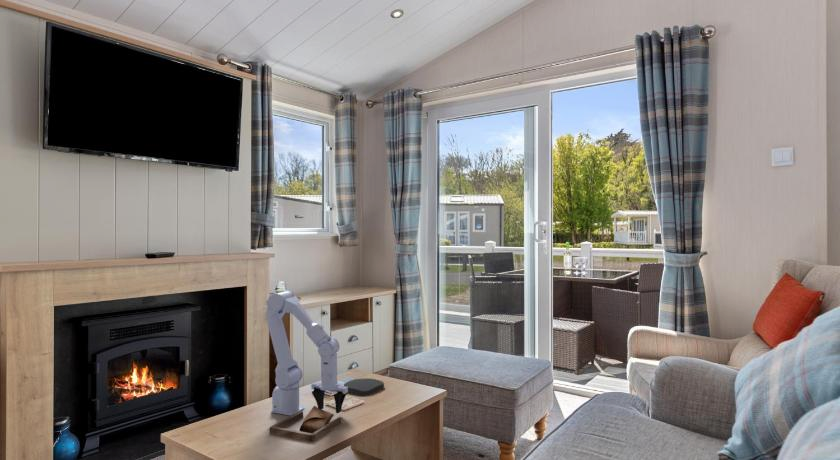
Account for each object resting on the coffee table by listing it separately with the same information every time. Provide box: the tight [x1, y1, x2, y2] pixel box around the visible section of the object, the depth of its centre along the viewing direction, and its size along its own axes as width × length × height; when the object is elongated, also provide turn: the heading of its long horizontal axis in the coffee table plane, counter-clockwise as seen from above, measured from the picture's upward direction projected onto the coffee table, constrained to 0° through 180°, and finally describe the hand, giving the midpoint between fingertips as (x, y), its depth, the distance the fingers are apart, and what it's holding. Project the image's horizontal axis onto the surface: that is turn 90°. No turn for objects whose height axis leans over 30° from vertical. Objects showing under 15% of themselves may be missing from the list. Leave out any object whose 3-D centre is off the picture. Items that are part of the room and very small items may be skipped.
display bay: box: [269, 410, 342, 443], centre depth 170 cm, size 17×16×2 cm
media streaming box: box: [343, 377, 385, 397], centre depth 212 cm, size 15×15×3 cm
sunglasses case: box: [299, 405, 334, 433], centre depth 174 cm, size 18×7×7 cm
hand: (329, 410), depth 182 cm, fingers open, 7 cm apart
